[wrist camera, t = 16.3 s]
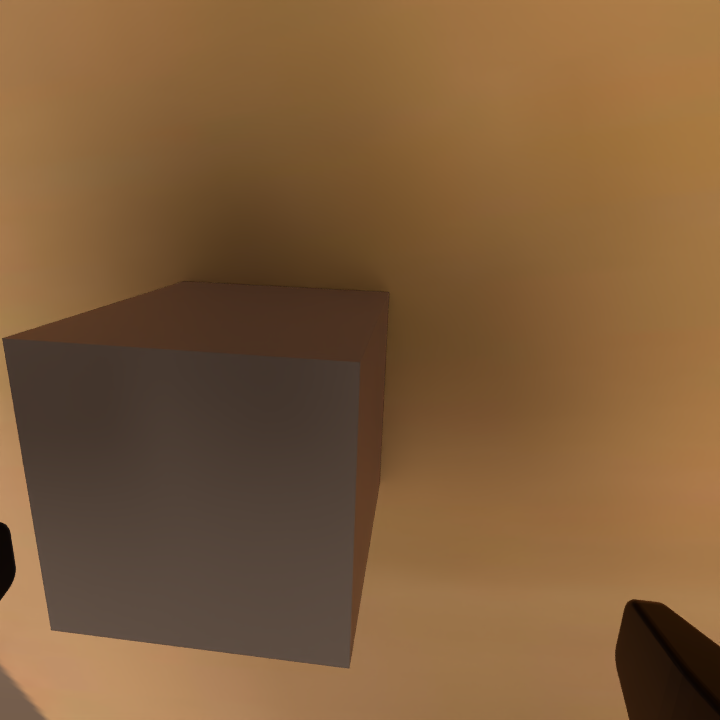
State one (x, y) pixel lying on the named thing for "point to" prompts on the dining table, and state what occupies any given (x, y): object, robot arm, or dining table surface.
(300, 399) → the grey matte cube
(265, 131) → the dining table surface
